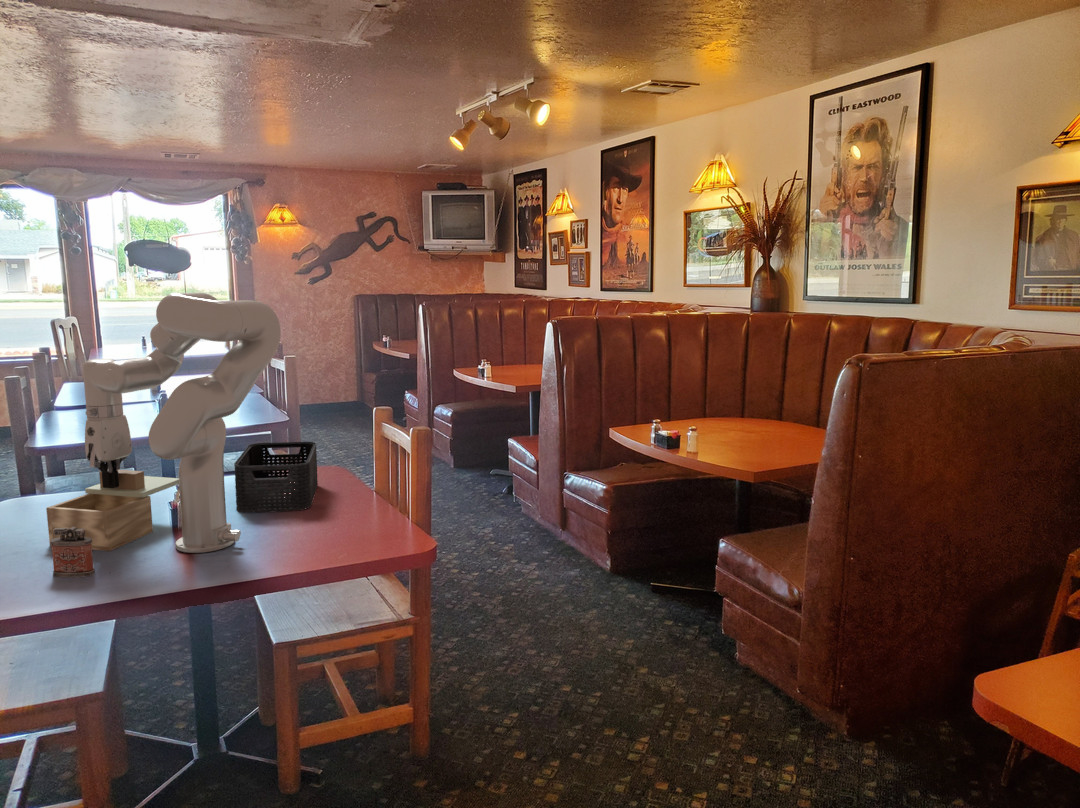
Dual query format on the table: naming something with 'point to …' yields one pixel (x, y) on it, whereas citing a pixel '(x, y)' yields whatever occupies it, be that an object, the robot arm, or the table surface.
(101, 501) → the wooden box
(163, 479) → the lid
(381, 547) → the table surface
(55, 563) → the lighter
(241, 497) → the storage bin
